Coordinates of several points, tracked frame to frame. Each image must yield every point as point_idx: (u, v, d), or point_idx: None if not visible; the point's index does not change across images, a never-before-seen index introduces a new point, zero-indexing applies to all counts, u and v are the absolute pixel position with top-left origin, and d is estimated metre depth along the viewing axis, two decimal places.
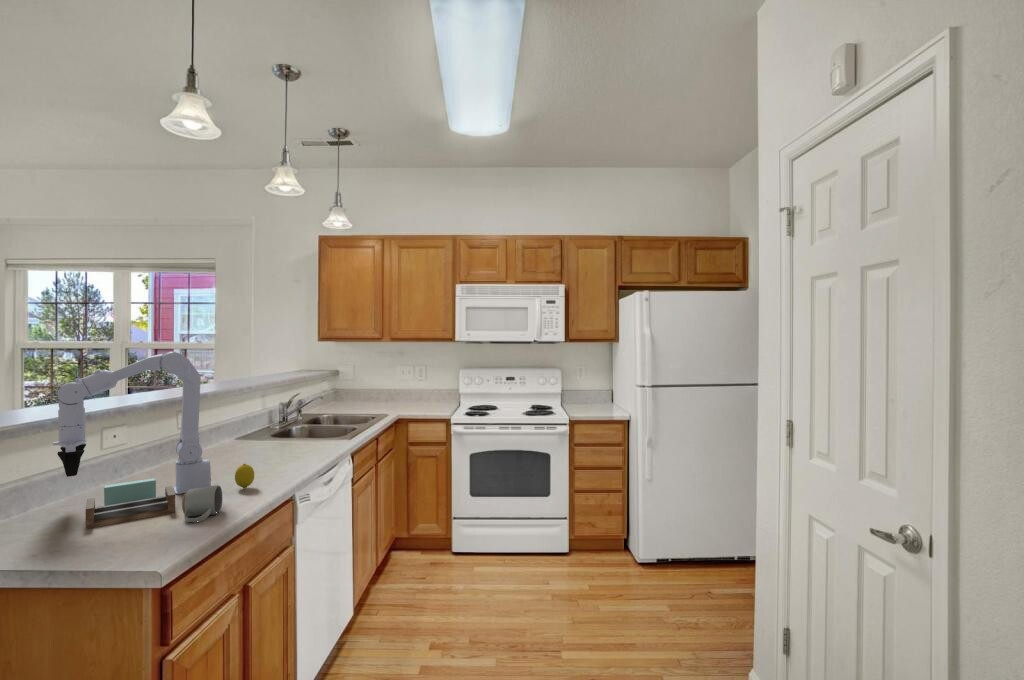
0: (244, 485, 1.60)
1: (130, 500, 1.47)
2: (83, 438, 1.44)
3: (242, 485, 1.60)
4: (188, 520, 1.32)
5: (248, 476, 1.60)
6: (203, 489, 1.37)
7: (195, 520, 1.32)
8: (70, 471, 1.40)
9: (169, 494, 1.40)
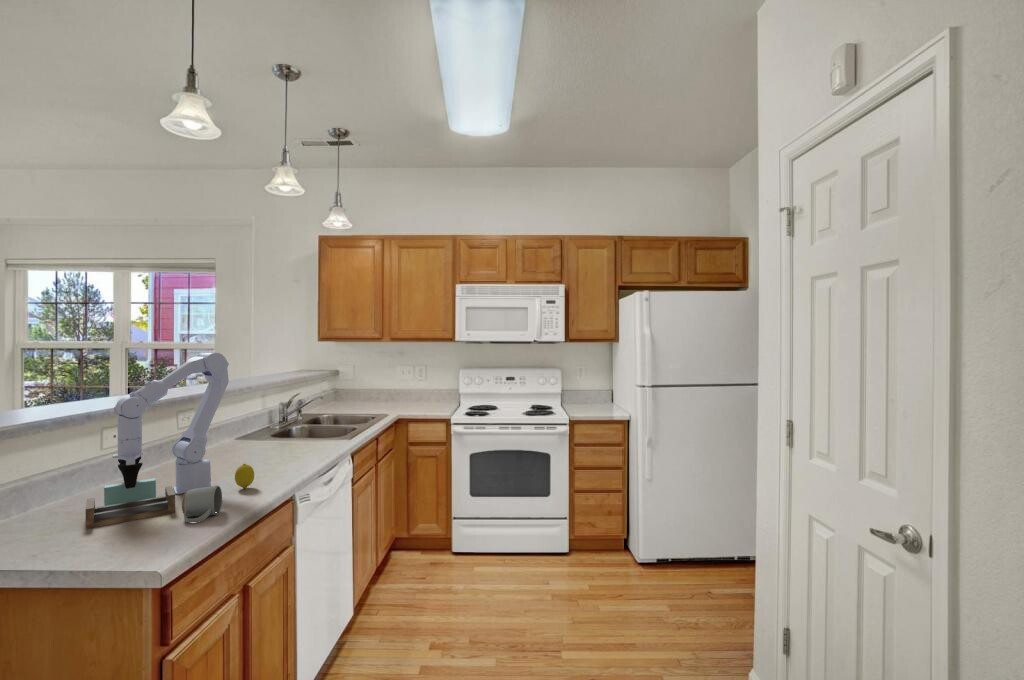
0: (244, 485, 1.60)
1: (130, 500, 1.47)
2: (140, 451, 1.49)
3: (242, 485, 1.60)
4: (188, 520, 1.32)
5: (248, 476, 1.60)
6: (203, 489, 1.37)
7: (195, 520, 1.32)
8: (129, 483, 1.45)
9: (169, 494, 1.40)
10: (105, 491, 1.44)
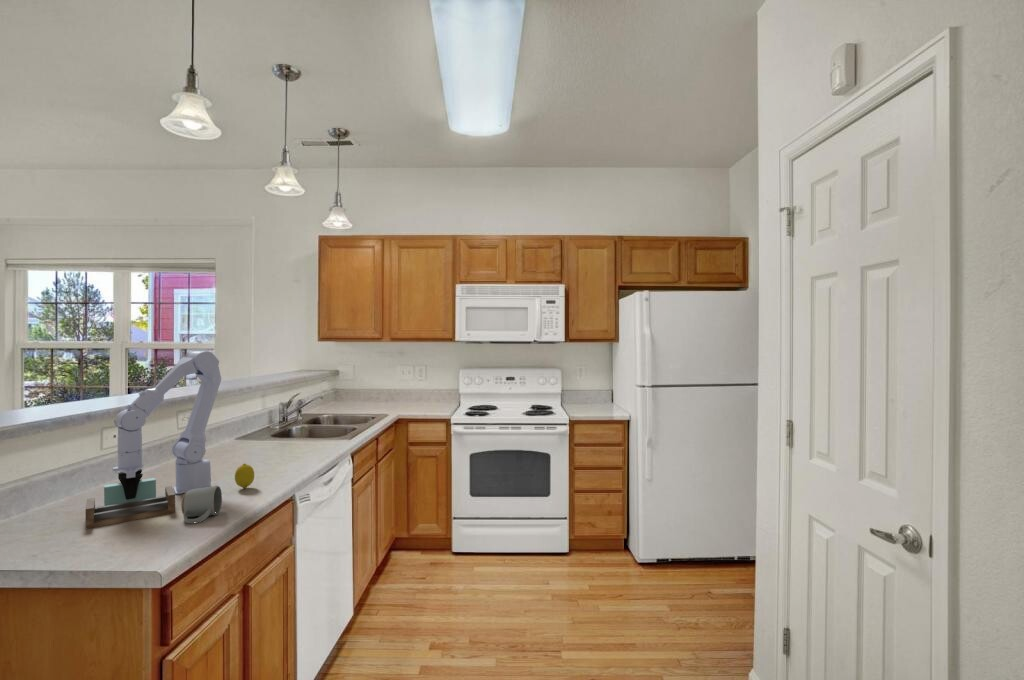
0: (244, 485, 1.60)
1: (130, 500, 1.47)
2: (140, 463, 1.49)
3: (242, 485, 1.60)
4: (187, 521, 1.31)
5: (248, 476, 1.60)
6: (202, 490, 1.37)
7: (194, 521, 1.31)
8: (129, 494, 1.46)
9: (169, 494, 1.40)
10: (105, 491, 1.44)
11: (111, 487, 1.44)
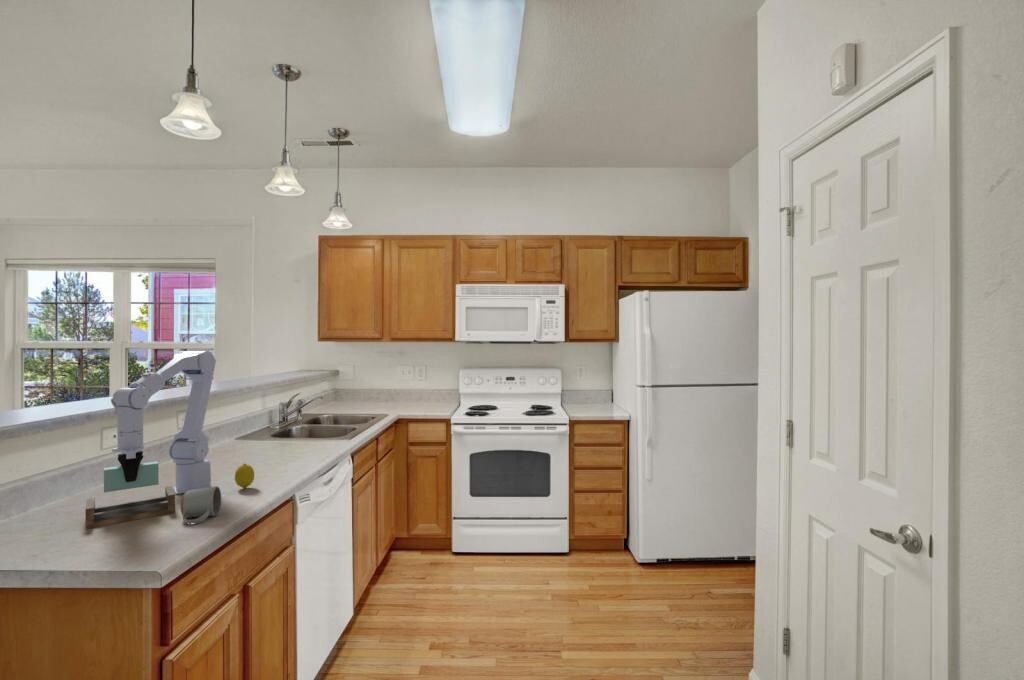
0: (244, 485, 1.60)
1: (131, 484, 1.39)
2: (141, 444, 1.40)
3: (242, 485, 1.60)
4: (186, 521, 1.31)
5: (248, 476, 1.60)
6: (202, 490, 1.36)
7: (193, 521, 1.31)
8: (130, 477, 1.38)
9: (169, 494, 1.40)
10: (105, 474, 1.36)
11: (111, 470, 1.36)
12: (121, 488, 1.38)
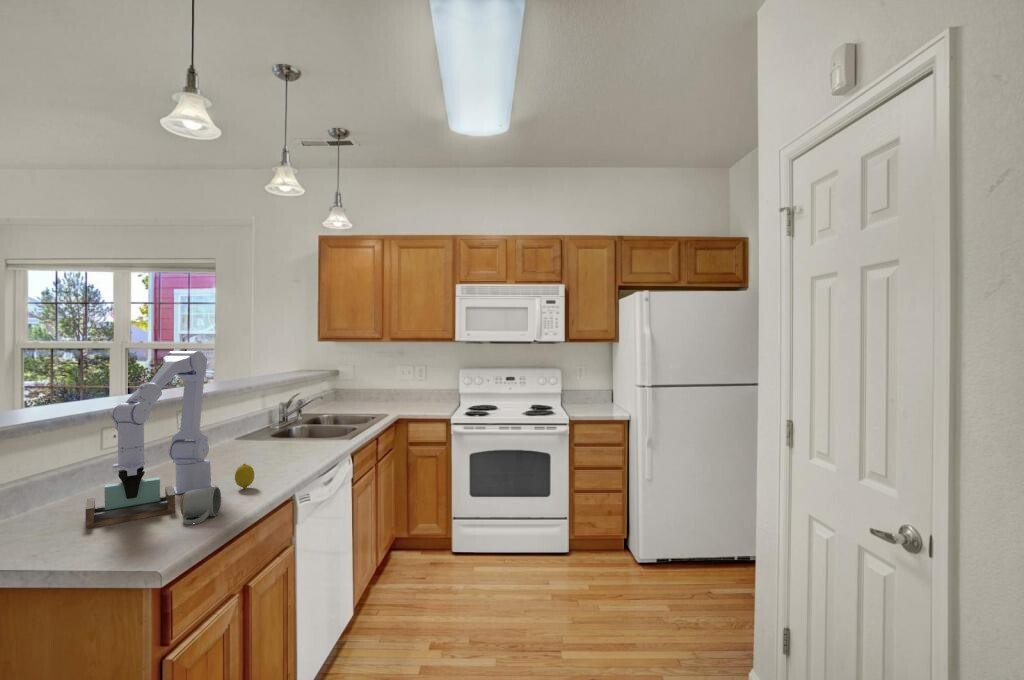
0: (244, 485, 1.60)
1: (132, 501, 1.37)
2: (142, 460, 1.38)
3: (242, 485, 1.60)
4: (186, 522, 1.31)
5: (248, 476, 1.60)
6: (201, 490, 1.36)
7: (193, 522, 1.31)
8: (130, 493, 1.36)
9: (169, 494, 1.40)
10: (106, 491, 1.33)
11: (112, 487, 1.34)
12: (122, 505, 1.36)
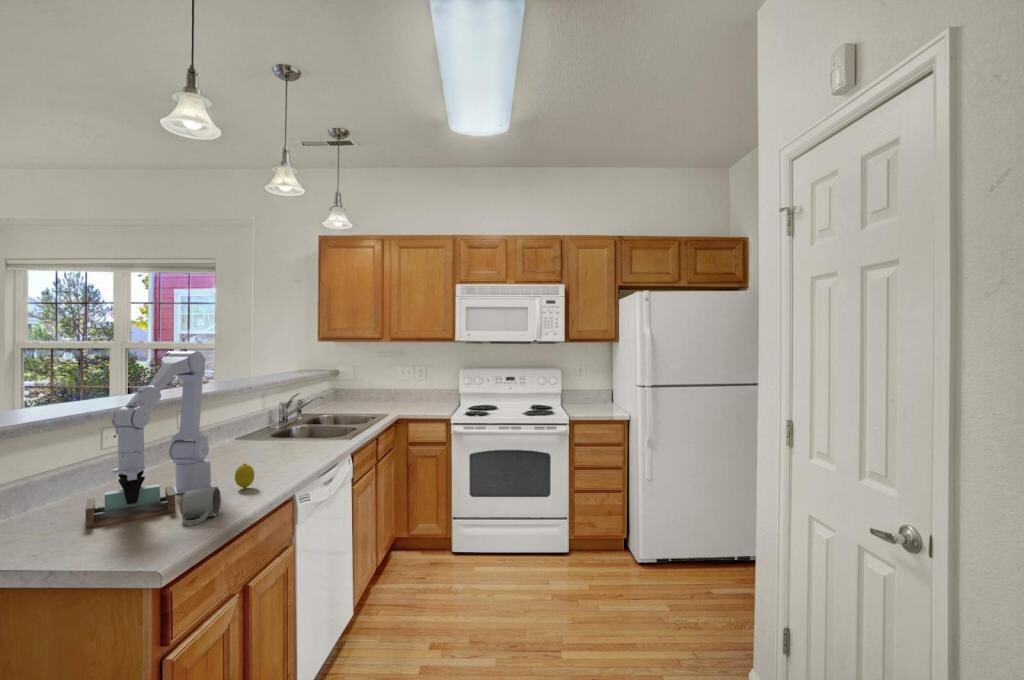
0: (244, 485, 1.60)
1: None
2: (142, 464, 1.38)
3: (242, 485, 1.60)
4: (186, 522, 1.30)
5: (248, 476, 1.60)
6: (201, 491, 1.36)
7: (193, 522, 1.30)
8: (131, 499, 1.35)
9: (169, 494, 1.40)
10: (106, 498, 1.33)
11: (112, 494, 1.34)
12: None
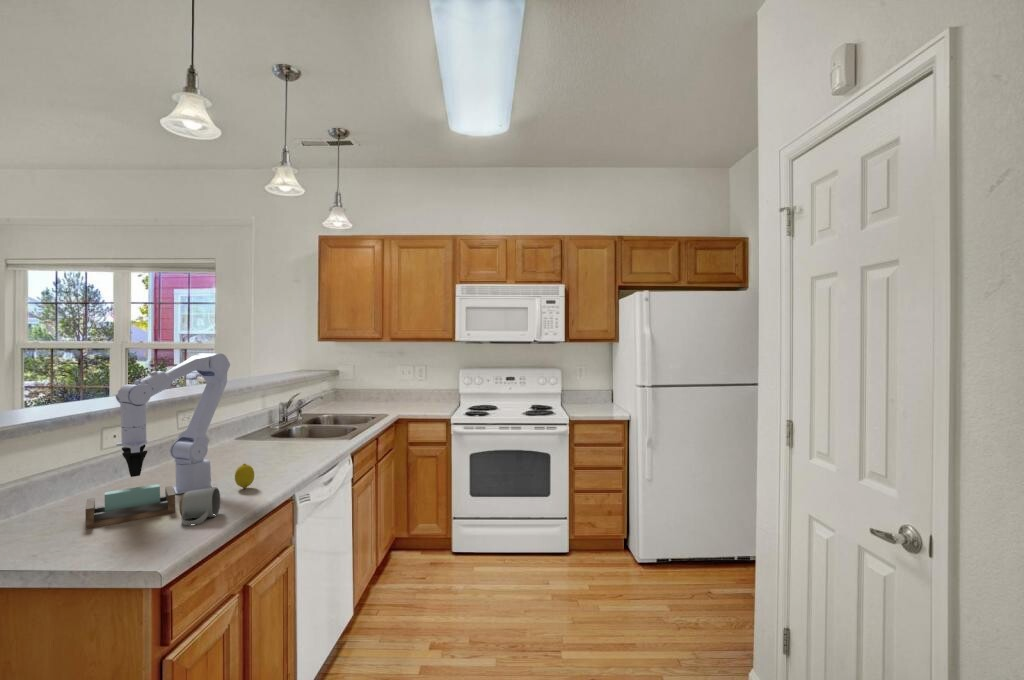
0: (244, 485, 1.60)
1: None
2: (145, 439, 1.46)
3: (242, 485, 1.60)
4: (185, 523, 1.30)
5: (248, 476, 1.60)
6: (200, 491, 1.35)
7: (192, 523, 1.30)
8: (134, 471, 1.42)
9: (169, 494, 1.40)
10: (106, 498, 1.33)
11: (112, 494, 1.34)
12: None
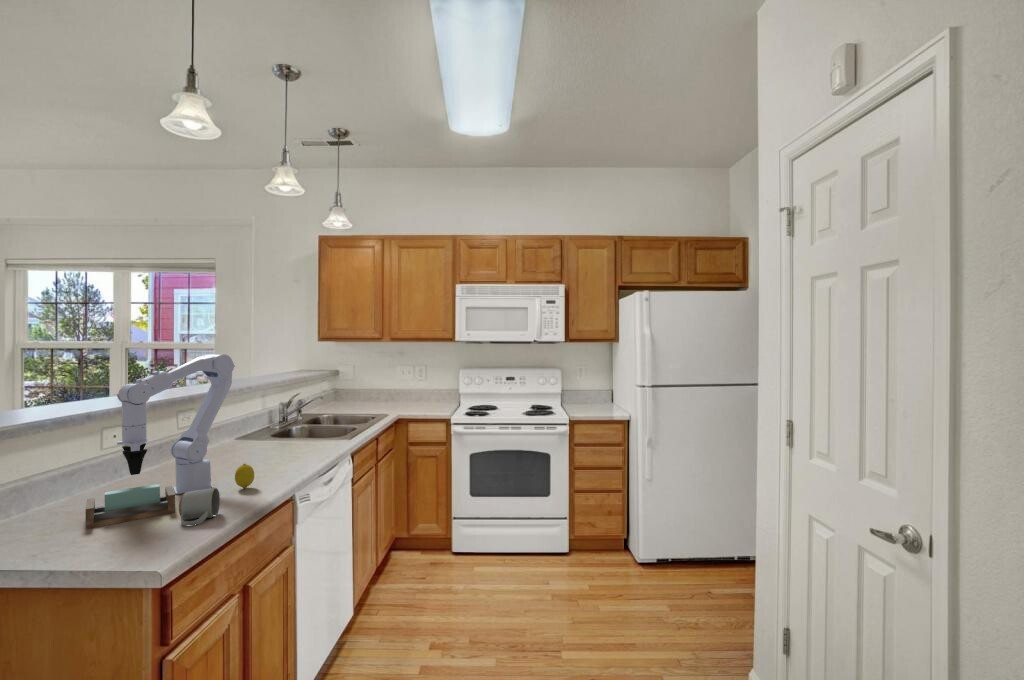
0: (244, 485, 1.60)
1: None
2: (145, 437, 1.48)
3: (242, 485, 1.60)
4: (185, 523, 1.30)
5: (248, 476, 1.60)
6: (200, 492, 1.35)
7: (192, 523, 1.30)
8: (134, 470, 1.44)
9: (169, 494, 1.40)
10: (106, 498, 1.33)
11: (112, 494, 1.34)
12: None
